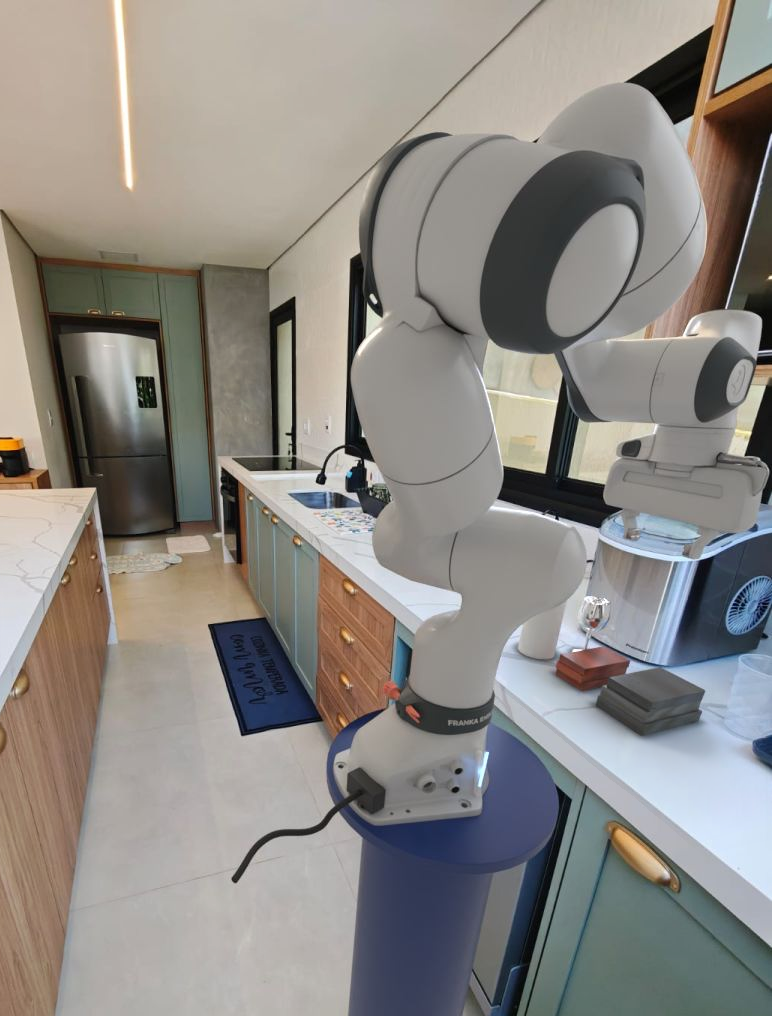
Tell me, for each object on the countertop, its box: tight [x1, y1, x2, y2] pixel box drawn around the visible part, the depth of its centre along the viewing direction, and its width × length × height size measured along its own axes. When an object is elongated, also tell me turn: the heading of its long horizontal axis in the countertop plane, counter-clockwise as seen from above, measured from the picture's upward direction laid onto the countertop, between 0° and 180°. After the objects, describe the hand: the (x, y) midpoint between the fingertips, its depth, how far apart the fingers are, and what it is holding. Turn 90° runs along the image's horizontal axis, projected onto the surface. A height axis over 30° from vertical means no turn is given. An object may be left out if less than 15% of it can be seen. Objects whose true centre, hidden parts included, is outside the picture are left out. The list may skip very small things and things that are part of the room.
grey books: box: [595, 666, 706, 737], centre depth 84 cm, size 13×9×6 cm
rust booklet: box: [558, 645, 631, 676], centre depth 94 cm, size 11×6×2 cm, turn 110°
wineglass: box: [571, 596, 612, 652], centre depth 103 cm, size 6×6×12 cm
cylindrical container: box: [517, 600, 568, 660], centre depth 101 cm, size 7×7×25 cm
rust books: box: [555, 660, 628, 692], centre depth 95 cm, size 11×6×3 cm, turn 110°
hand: (658, 548), depth 73 cm, fingers open, 8 cm apart
